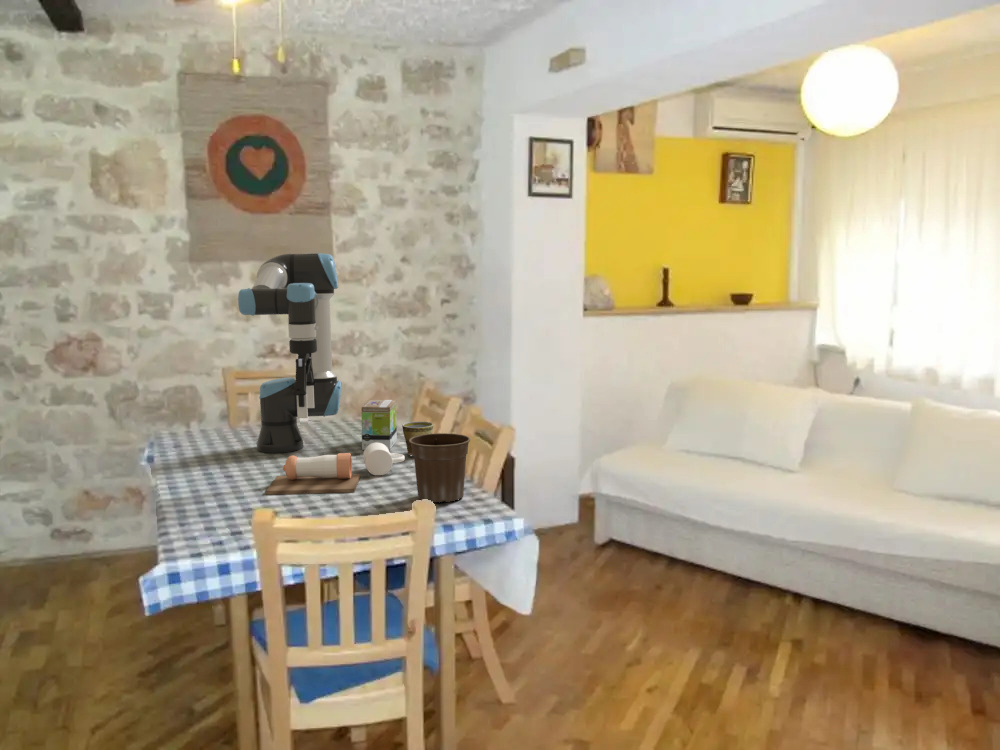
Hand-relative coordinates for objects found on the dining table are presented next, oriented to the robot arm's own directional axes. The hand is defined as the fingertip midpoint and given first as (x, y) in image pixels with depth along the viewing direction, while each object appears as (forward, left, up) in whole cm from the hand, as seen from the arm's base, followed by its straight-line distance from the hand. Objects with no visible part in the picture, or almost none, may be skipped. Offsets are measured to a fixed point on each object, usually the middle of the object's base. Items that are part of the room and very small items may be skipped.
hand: (306, 412), depth 251 cm
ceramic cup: (-18, +40, -20) cm, 49 cm away
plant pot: (+32, +27, -21) cm, 47 cm away
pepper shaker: (+5, +11, -16) cm, 20 cm away
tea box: (-36, +33, -21) cm, 53 cm away
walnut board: (+4, 0, -20) cm, 21 cm away
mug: (-1, +23, -21) cm, 31 cm away
